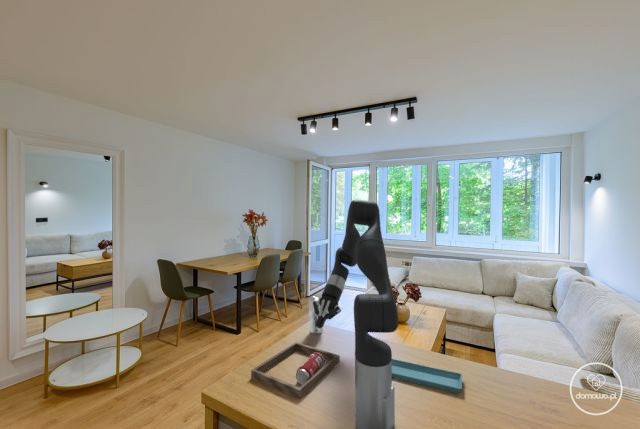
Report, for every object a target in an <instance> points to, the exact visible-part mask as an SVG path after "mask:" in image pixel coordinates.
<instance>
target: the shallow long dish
mask: <svg viewBox="0 0 640 429" xmlns="http://www.w3.org/2000/svg"><path fill="white" fill-rule="evenodd" d="M392 378H395V379H399V380H402V381H407V382H410V383H415V384H419V385H421V386H425V387H426V386H427V387H430V388H435V389H439V390H443V391H447V392H450V391H451V393H453V394H454V393H455V394H459V393H461V391H462V390H463V386H462V385H463V381H462V380H463V379H462V378H463V374H462V373H459V372H455V371H450V370H445V369H440V368H435V367H431V366H427V365H421V364H417V363H413V362H409V361H404V360H403V361H402V360H399V359H394V358H392Z"/></svg>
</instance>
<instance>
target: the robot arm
mask: <svg viewBox="0 0 640 429" xmlns="http://www.w3.org/2000/svg"><path fill="white" fill-rule="evenodd" d="M380 216H381V215H380V209H379V205H378V203H377V202H375V201H370V200H363V199H353V200H351V201H350V203H349V207H348V210H347V216H346V218H347V219H346V224H345V235H344V238H343V241H342V245H341V246H340V247H338V249H336V251H335V254H334V257H335V258H334V265H333V269H332V271H331V273H330V276H329V278H328V279H327V280H326V284H325V286H324V288H323V291H322V294H321V296H320V297H321V298H320V299H319V301H318V302H315V301H314V302H313V306H314V310H315V314H316V315H317V316H318V319H317V321H316V326H317V328H322V327H324V326H325V322H326V321H327V320H332V319H333V318H335V316H337V315H338V314H340V313H341V312H342V309H341V308H340V306H339V301H340V299H341V296H342V293H343V292H344V288H345V285H346V282H347V279H348V276H349V274H350V271H349V269H348V268H347V267H349V268H351V267H355V266H357V267H358V269H359V270H360V271H361V273H362V274H363V275H364V277H366V278H367V279H368V280H369V281H370V282H371V284H373V286H374V287H375V289H376V291H377V294H376V293H375V294H374V293H371V294H369V293H367V294H366V293H361V294H360V293H359V294H357V295H355V298H354V300H353V322H354V337H355V338H354V385H355V386H354V400H355V401H354V403H355V404H354V405H355V406H354V407H355V409H354V410H355V411H354V413H355V414H354V417H355V421H354V422H355V426H356V429H393V428H394V427H395V425H396V424H395V423H396V421H395V419H396V415H395V414H396V413H395V411H396V410H395V405H396V404H395V401H396V400H395V398H396V397H395V387H394V386H393V384H392V383H393V377H392V359H393V352H392V348H391V346H390V345H389V344H388V343H387V342H385V341H383V340H381V339H378V338H376V337H374V336H372V335H371V334H370V333H379V334H380V333H383V334H384V333H385V334H387V333H388V334H389V333H394V332H396V331H397V329H398V327H399V312H398V311H399V310H398V306H397V302H396V298H395V294H394V290H393V286H392V283H391V279H390V275H389V269H388V268H389V267H388V263H387V255H386V250H385V248H386V247H385V244H384V240H383V236H382V230H381V229H382V228H381V217H380ZM356 225H357V226H367V227H368V228H367V230H365V232H364V233H362V234H360V232H359V231H358V229H357V227H356ZM346 266H347V267H346ZM319 305H320V312H319V308H318V307H319Z"/></svg>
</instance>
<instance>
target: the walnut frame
mask: <svg viewBox="0 0 640 429" xmlns="http://www.w3.org/2000/svg"><path fill="white" fill-rule="evenodd" d="M296 351H299V352H301V353H305V354H308V355H311V354H312V353H315V352H317V353H320V354H321V355H322V356H323V359H324V360H326V361H328V362H327V363H326V364H325V365H323V366H322V367H321V368H320V369H319V371H318V372H317V373H315V374H314V375H313V376H312V377H311V378H310V379H308V380H307V381H306V382H305V383H304V384H300V386H299V387H298V386H297V385H295V384H292V383H289V382H286V381H284V380H282V379H279V378H277V377H274V376H272V375H269V374H268V373H265V372H266V371H267V370H269V369H270V368H272V367H273V366H275V365H276V364H278V363H280V361H282V360H284V359H286V357H287V358H288V356H289V355H292V353H294V352H296ZM340 358H341V355H340V354H336V353H333V352H329V351H326V350H324V349H320V348H316V347H314V346H310V345H307V344H303V343H299V342H298V341H297V342H295V341H294V342H293V343H292V344H291V345H289V346H287V347H285V348H284V349H283V350H281V351H280V352H278V353H276V354H274V355H273V356H272V357H270V358H268V359H267V360H265V361H264V362H262V363H260V364H259V365H257V366H255V367H254V368H252V369H251V371H250V372H251V374H250V376H251V379H254V380H256V381H258V382H260V383H263V384H264V385H267V386H270V387H272V388H274V389H276V390H278V391H281V392H283V393H285V394H288V395H290V396H292V397H294V398H296V399H299V400H301V398H303V397H304V396H305V395H306V394H307V393H308V392H309V391H310V390H311V389H312V388H313V387H315V386H316V384H318V383H319V382H320V381H321V380H323V378H324V377H325V376H327V375H328V374H329V373H330V372H331V371H332V370H333V369H334V368H335V367H336V366H338V365H339V363H340V362H341V361H340V360H341V359H340ZM274 364H275V365H274ZM271 366H272V367H271ZM268 368H269V369H268ZM265 370H266V371H265Z"/></svg>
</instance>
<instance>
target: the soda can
mask: <svg viewBox="0 0 640 429" xmlns="http://www.w3.org/2000/svg"><path fill="white" fill-rule="evenodd" d="M309 355H310V354H309ZM324 363H325V359H323V356H322V355H321V354H320V353H317V352H315V353H312V354H311V355H310V356H308V358H307V359H305V361H304V362H303V363H302V364H301V365H300V366H299V367H298V368H297V370H296V372H295V379H296V381H297V382H298V384H300V385H303V384H304V383H305V382H306V381H307V380H308V379H310V378H311V377H312V376H313V375H314V374H315V373H317V372H318V371H319V370H320V369H321V368H322V367H323V366H324Z"/></svg>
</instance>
